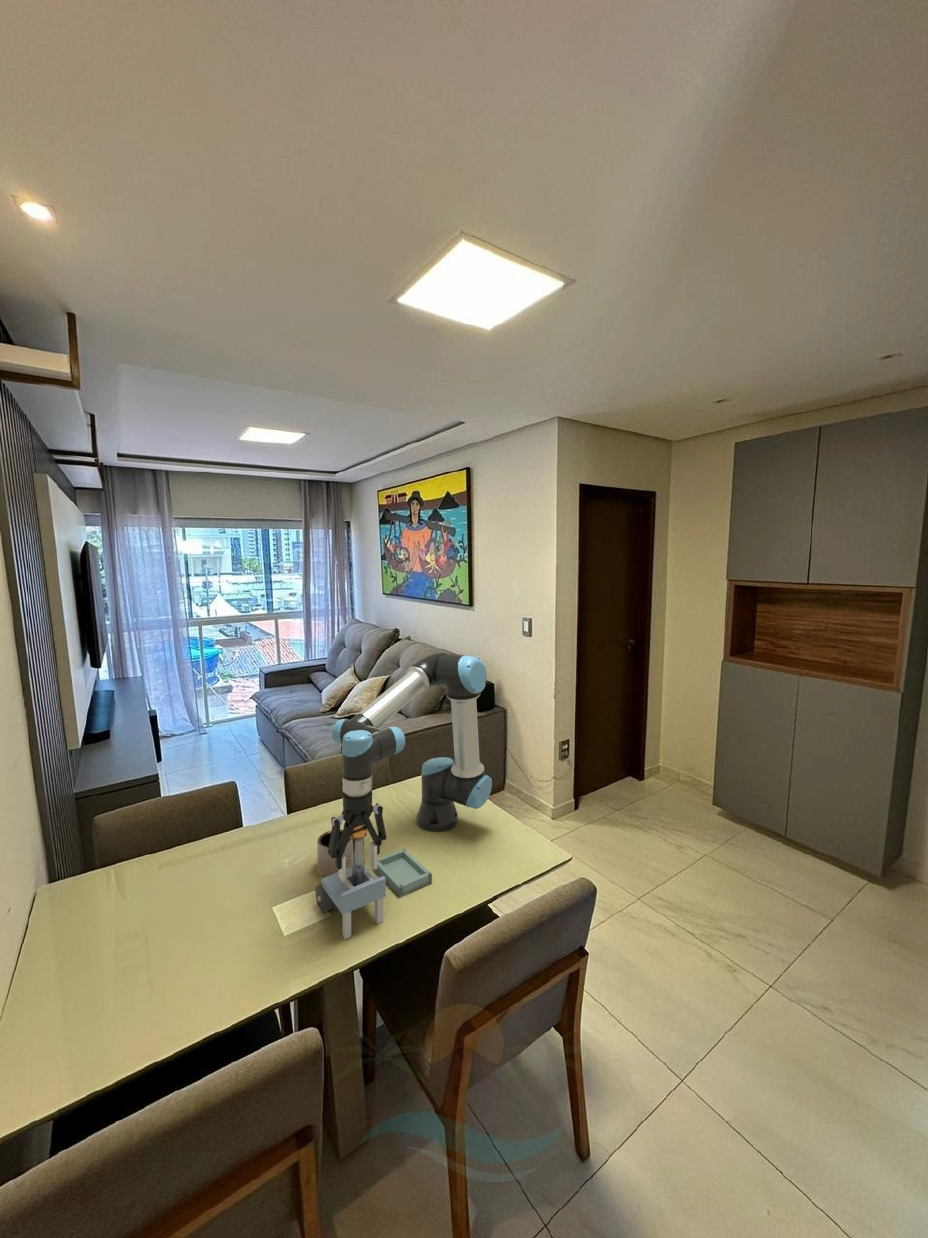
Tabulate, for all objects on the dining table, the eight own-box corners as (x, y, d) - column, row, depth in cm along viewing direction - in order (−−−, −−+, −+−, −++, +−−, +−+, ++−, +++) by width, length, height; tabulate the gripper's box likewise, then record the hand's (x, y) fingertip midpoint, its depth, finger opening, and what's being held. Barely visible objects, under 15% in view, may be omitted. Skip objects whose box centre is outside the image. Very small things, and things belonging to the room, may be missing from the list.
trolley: (313, 904, 136) (313, 863, 135) (360, 885, 145) (360, 846, 143) (339, 942, 122) (338, 897, 121) (389, 919, 131) (389, 877, 130)
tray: (373, 869, 152) (373, 860, 152) (404, 857, 159) (404, 848, 158) (399, 897, 139) (399, 887, 139) (431, 883, 146) (431, 873, 146)
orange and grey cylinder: (346, 883, 131) (346, 827, 130) (362, 876, 134) (362, 822, 133) (353, 892, 128) (353, 835, 126) (370, 885, 131) (369, 829, 129)
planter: (358, 858, 158) (357, 830, 157) (346, 879, 147) (346, 849, 146) (325, 856, 159) (324, 828, 158) (311, 877, 148) (311, 847, 147)
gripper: (323, 808, 119) (325, 895, 121) (400, 785, 132) (400, 865, 134) (312, 796, 125) (314, 880, 127) (386, 776, 138) (386, 852, 140)
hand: (358, 872), depth 131 cm, fingers open, 8 cm apart
